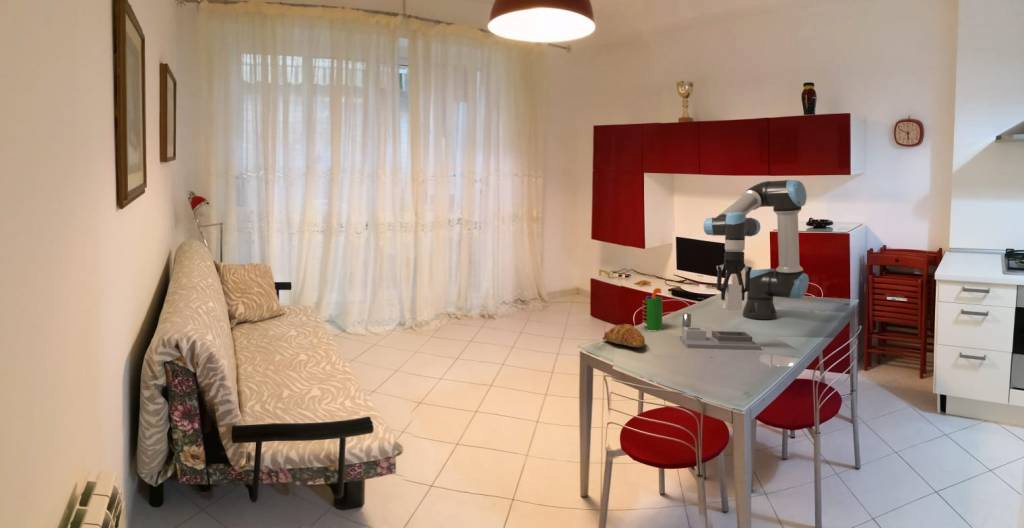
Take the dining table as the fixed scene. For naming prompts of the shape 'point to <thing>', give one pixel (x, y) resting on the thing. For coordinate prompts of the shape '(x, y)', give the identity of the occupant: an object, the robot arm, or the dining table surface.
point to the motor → (653, 311)
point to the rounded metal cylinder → (686, 320)
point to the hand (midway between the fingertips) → (732, 308)
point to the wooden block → (733, 296)
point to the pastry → (625, 336)
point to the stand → (717, 339)
